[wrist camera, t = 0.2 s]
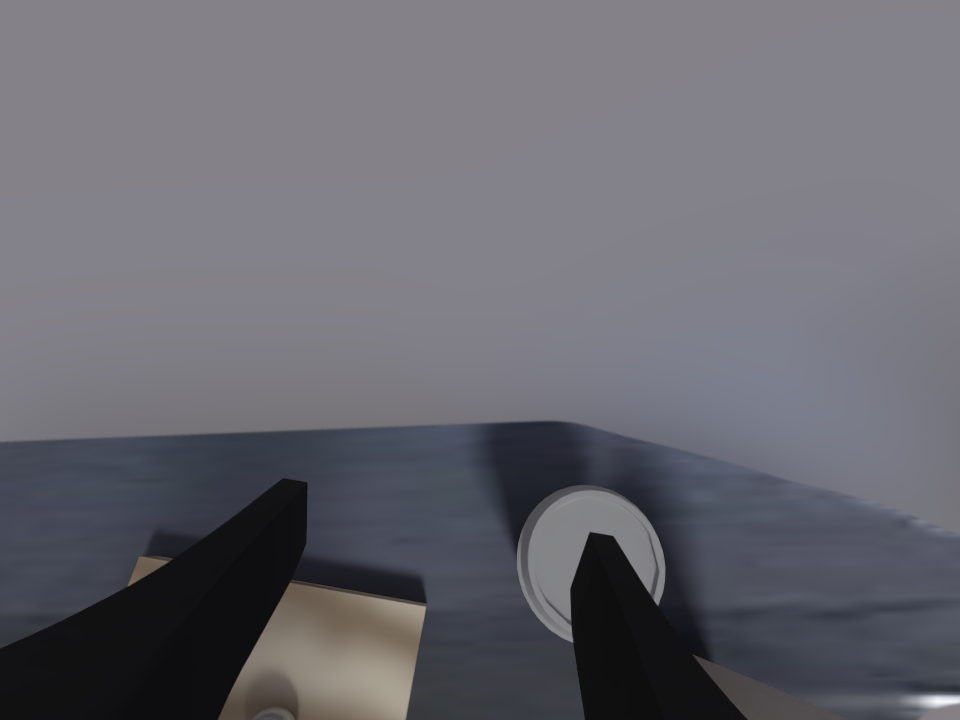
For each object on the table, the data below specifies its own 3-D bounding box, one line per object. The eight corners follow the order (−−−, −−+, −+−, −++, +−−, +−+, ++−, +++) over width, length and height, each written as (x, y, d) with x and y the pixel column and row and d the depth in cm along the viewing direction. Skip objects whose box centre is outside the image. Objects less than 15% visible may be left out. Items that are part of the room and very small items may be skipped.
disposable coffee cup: (594, 642, 39) (653, 678, 28) (483, 594, 40) (497, 611, 28) (624, 525, 42) (687, 515, 31) (521, 483, 43) (547, 460, 32)
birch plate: (372, 900, 32) (367, 927, 30) (48, 843, 32) (17, 865, 30) (427, 603, 39) (425, 606, 37) (157, 556, 39) (139, 556, 37)
